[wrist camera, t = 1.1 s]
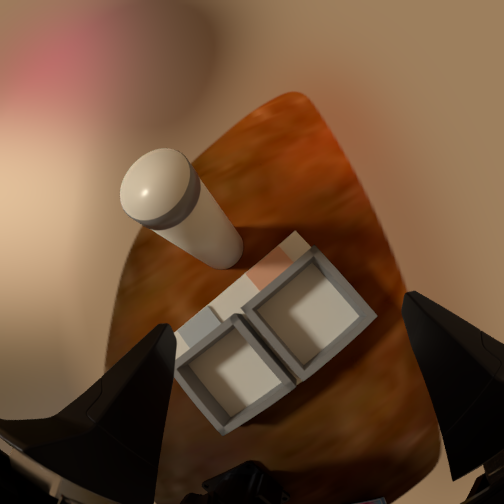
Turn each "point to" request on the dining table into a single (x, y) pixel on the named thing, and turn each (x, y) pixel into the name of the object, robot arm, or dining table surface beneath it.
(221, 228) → the plug
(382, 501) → the ink cartridge box
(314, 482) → the dining table surface
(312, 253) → the socket board
